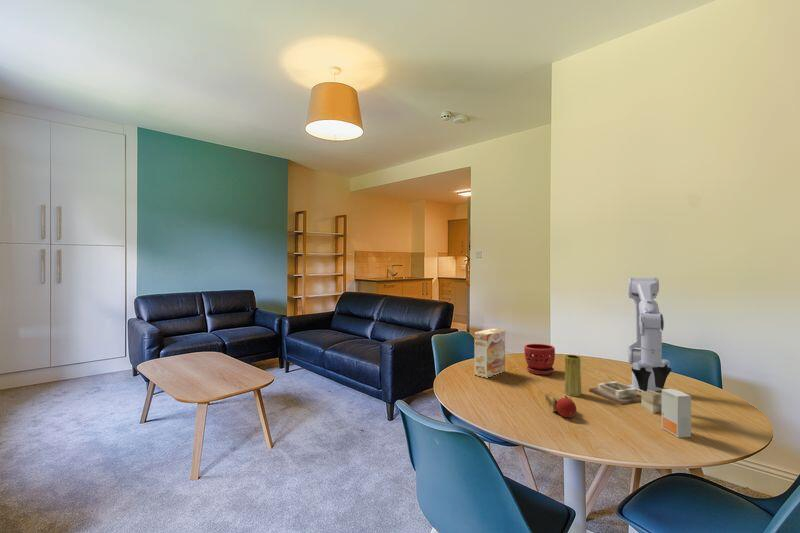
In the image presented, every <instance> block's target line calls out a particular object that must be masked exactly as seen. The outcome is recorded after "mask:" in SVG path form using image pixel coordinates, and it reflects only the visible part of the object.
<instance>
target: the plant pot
mask: <svg viewBox="0 0 800 533" xmlns="http://www.w3.org/2000/svg"><path fill="white" fill-rule="evenodd" d="M524 357H525V361H526V364H527V366H526V369H527V371H529V372H530V373H531V374H536V375H542V376H543V375H545V376H546V375H551V374H552V373H553V372H554V371H555V368H554V367H553V365H554V363H555V359H556V348H555V346H553V345H550V344H545V343H544V344H543V343H529V344H525V345H524Z"/></svg>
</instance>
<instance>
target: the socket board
mask: <svg viewBox="0 0 800 533" xmlns="http://www.w3.org/2000/svg"><path fill="white" fill-rule="evenodd" d="M627 385H628V384H624V383H621V382H619V381H616V380H614V381H608V382H607V381H606V382H601V383H597V387H592V388H588V392H589V393H591V394H592V393H593V394H595V395H598V396H600V397H603V398H605V399H607V400H608V401H609V400H610V401H612V402H614V403H617V404H620V405H627V404H631V403H636V402H638V403H639V402H641V394H638V392H637V391H638V390H637V389H636V388H633V387H630V386H627Z"/></svg>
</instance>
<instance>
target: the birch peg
mask: <svg viewBox="0 0 800 533" xmlns="http://www.w3.org/2000/svg"><path fill="white" fill-rule="evenodd" d="M640 392H641V394H640V395H641V401H640V404H641V405H640V406H641V410H643V411H645V410H646V412H648V413H650V412H651V413H650V414H657V413H656V412H658V413H662V393H660V392H658V391H651V390H647V391H640Z"/></svg>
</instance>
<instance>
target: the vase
mask: <svg viewBox="0 0 800 533" xmlns="http://www.w3.org/2000/svg"><path fill="white" fill-rule="evenodd" d="M581 371H582V369H581V356H579V355H575V354H567V355H566V354H565V356H564V389H563V390H564V391H563V393H564V394H565V395H566V396H570V397H581V396H582V375H581V374H582V373H581Z"/></svg>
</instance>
